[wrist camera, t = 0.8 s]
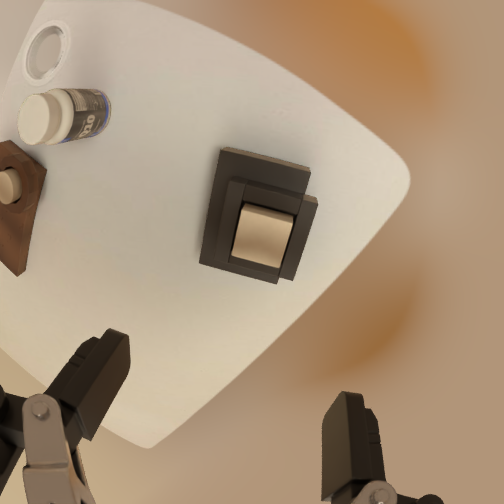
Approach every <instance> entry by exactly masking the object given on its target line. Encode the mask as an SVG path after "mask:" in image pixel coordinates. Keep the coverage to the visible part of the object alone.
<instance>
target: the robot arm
mask: <svg viewBox="0 0 504 504" xmlns="http://www.w3.org/2000/svg"><path fill="white" fill-rule="evenodd" d="M130 363H131V360H130V344H129V336H128V335H127V334H124V333H121V332H119V331H116V330H113V329H111V328H109V329H107V330H106V332H105V333H104V334H103V336H102V337H101V338H100V339H98V338H96V337H92V338H90V339H88V340H87V341H85V342H83V343H82V344H81V345H80V347H79V348H78V349H77V350H76V352H75V354H74V355H73V356H72V357H71V358H70V359H69V362H68V363H66V365H65V366H64V367H63V369H62V370H61V371H60V373H59V374H58V375H57V377H56V378H55V379H54V381H53V382H52V383H51V385H50V386H49V388H48V389H47V390H46V391H45V392H44V393H43V394H35V395H33V396H31V397H29V398H24V397H20V396H16V395H12V394H9V393H5V392H4V390H3V388H2V387H1V385H0V495H1V493H2V491H3V489H4V487H5V485H6V483H7V481H8V479H9V477H10V475H11V473H12V471H13V469H14V467H15V465H16V463H17V461H18V459H19V458H20V456H21V454H22V452H23V450H24V448H25V452H26V459H27V464H26V466H24V467H23V481H24V487H25V492H26V496H27V501H28V504H96V503H95V500H94V498H93V496H92V494H91V492H90V489H89V486H88V483H87V479H86V476H85V472H84V468H83V464H82V460H81V456H80V452H79V447H78V444H79V442H80V440H81V438H82V437H83V438H85V439H88V440H89V441H91V440H92V438H93V437H94V434H95V433H96V431H97V429H98V427H99V425H100V424H101V422H102V420H103V418H104V416H105V414H106V413H107V411H108V409H109V407H110V405H111V404H112V402H113V400H114V398H115V396H116V395H117V393H118V391H119V389H120V388H121V386H122V384H123V382H124V380H125V379H126V377H127V375H128V372H129V369H130ZM380 442H381V441H380V435H379V427H378V421H377V419H376V417H375V415H374V414H373V412H372V410H371V409H366V408H365V406H364V399H363V396H362V394H358V393H350V392H344V391H342V392H341V393H340V394H339V395H338V397H337V398H336V400H335V401H334V403H333V404H332V405H331V407H330V408H329V410H328V411H327V412H326V414H325V416H324V419H323V423H322V495H321V501H331V504H444V503H443V501H442V500H441V498H439V497H438V496H436V495H432V494H428V495H425V496H423V497H422V498H420V499H415V498H411V497H407V496H403V495H400V494H397V493H396V491H395V489H394V488H393V487H392V486H391V485H390V484H389V483H387V482H386V478H385V471H384V463H383V455H382V447H381V444H380Z"/></svg>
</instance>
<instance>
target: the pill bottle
mask: <svg viewBox="0 0 504 504" xmlns="http://www.w3.org/2000/svg"><path fill="white" fill-rule="evenodd" d="M110 113H111V107H110V103H109V100H108V98H107V96H106V95H105V94H104V93H103V92H101V91H99V90H95V89H52V90H49V91H47V92H46V93H41V94H33V95H31V96H29V97H28V98H27V99H26V100H25V101H24V102H23V104H22V106H21V108H20V111H19V114H18V121H17V124H18V131H19V135H20V137H21V139H22V140H23V141H24V142H25V143H27V144H29V145H35V144H42V143H44V144H47V145H55V144H59V143H64V142H68V141H72V140H78V139H82V138H87V137H92V136H95V135H97V134H99V133H100V132H101V131H102V130H103V129H104V128H105V127H106V125H107V124H108V121H109V118H110Z"/></svg>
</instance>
